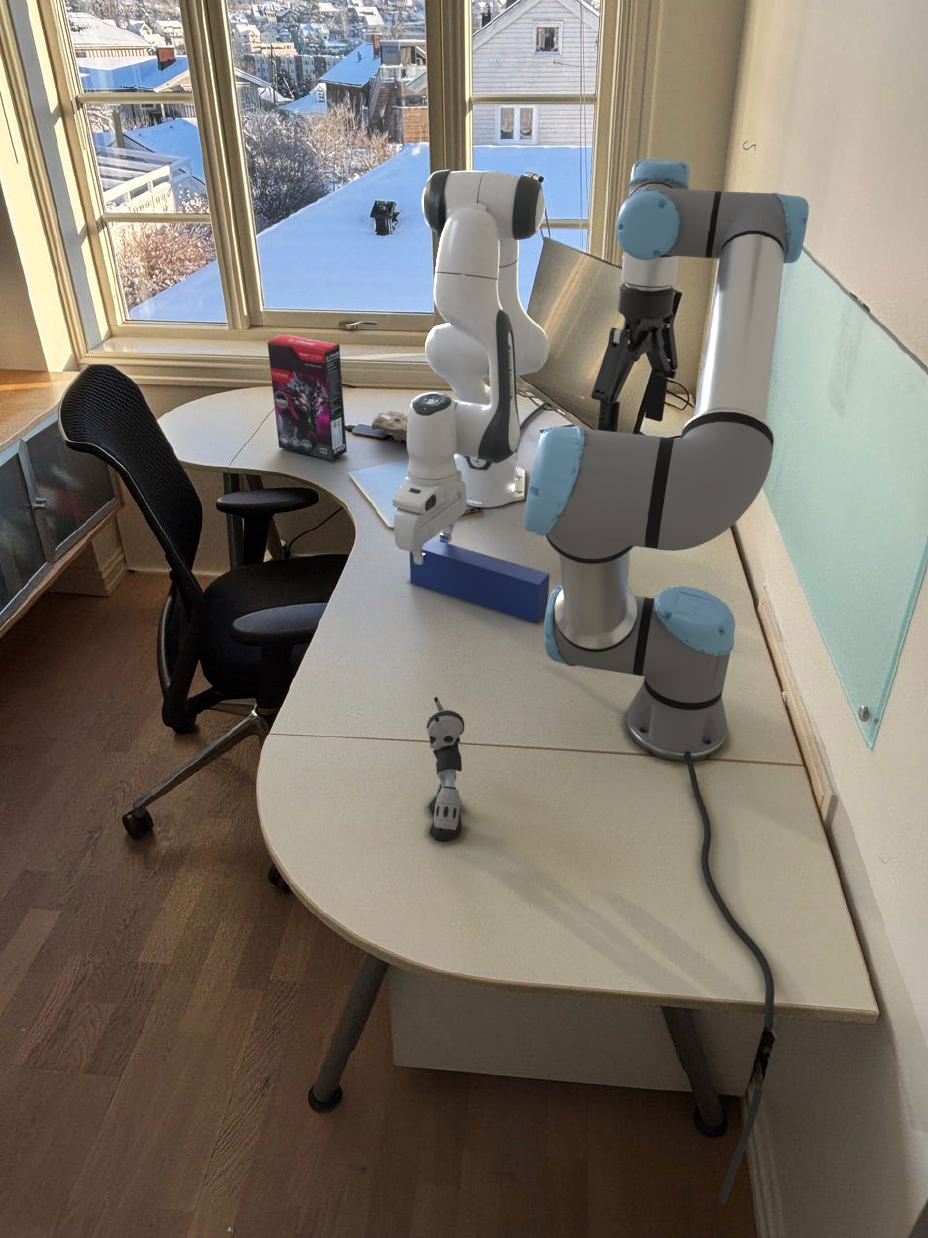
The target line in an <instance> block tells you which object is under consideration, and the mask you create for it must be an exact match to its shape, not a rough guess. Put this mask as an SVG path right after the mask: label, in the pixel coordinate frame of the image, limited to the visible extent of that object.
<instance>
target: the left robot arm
mask: <svg viewBox="0 0 928 1238" xmlns="http://www.w3.org/2000/svg"><path fill="white" fill-rule="evenodd" d="M421 206H422V211H423V218H424V222H425V223H426V225H427V226H428V227H429V229H430V230H431V231H433V232H434V233H436V236H437V238H439V239H440V240H439V245H438V246H439V247H438V251H437V256H436V264H435V265H436V266H435V273H434V284H433V297H434V298H433V299H434V304H435V308H436V309H437V311H438V313H439V315H440V316H441V317H442V319H443V320H444V321H445V322H446V323H444V324H439V325H438V324H437V325H435V326H434V327H433V328H432V329H431V330H430V332H429V333H428V335H427V337H426V341H425V346H424V352H425V353H424V354H425V358H426V361H427V363H428V365H429V367H430V368H431V369H432V370H433V371H434V372H435V373H436V374H438V375H439V376H440V377H441V378H442V379H444V380H445V381H446V382H447V383H448V385H449V386H450V387H451V389H452V391H453V393H454V394H455V398H456V399H453V398H451V397H450V396H449V395H448V394H446V393H443V392H438V391H430V392H425V393H421V394H419V395H417V396H415V397H414V398H413V399H412V400H411V402H410V405H409V408H408V414H407V416H408V422H407V442H406V450H407V453H408V457H409V458H408V464H407V476H406V477H405V479H404V480H403V482H402V484H401V486H400V487H399V488H398V490H397V491H396V492H395V494H394V495H393V497H392V506H393V507H394V508H396V509H395V512H394V515H393V532H394V533H393V535H394V542H395V543H394V544H395V545H396V547H397V548H398V549H400V550H402V551H405V552H409V553H410V552H412V554H413V555H414V563H415V564H419V565H421V564H423V563H424V562H425V561H426V554H425V553H422V550H421V549H423V545H424V544H425V543H426V542H427V541H429V540H430V539H434V538H435V536H437V535H438V534H439V541H441V542H444V543H447V544H450V542H452V539H453V532H454V528H455V526H456V520H458V519H459V518H460V517H462V515H464V514H465V513H466V511H467V509H468V506H469V507H475V508H495V507H501V506H504V505H507V504H510V503H514V502H521V501H523V500H525V497H526V496H525V495H526V494H525V493H526V470H525V469H524V468H522V467H519V466H517V465H518V453H517V450H518V448H519V444H520V441H521V431H522V429H523V428H524V426H525V425H526V423H528V421H529V420H531V418H532V417H534V415H536V414H537V413H538V412H539V411H541V410H542V409H543V408H544V407H545V406H547V405H549V403H547V402H546V401H545V402H543V403H541V405H539V406H538V407H537V408H535V409H533V411H532V412H531V413H529V414H528V415H527V416H526V417H525V418H524V420H523V421H522V422H521V423H520V415H519V410H518V400H517V399H518V397H517V377H518V376H523V375H528V374H533V373H537V372H540V371H541V369H542V368H543V367H544V366H545V364H546V362H547V360H548V356H549V352H550V344H549V338H548V336H547V334H546V332H545V330H544V329H543V328H542V327H541V325H539V324H537V323H536V322H535V321H534V320H533V319H532V318H531V317H530V316H529V315H528V313H527V312H526V311H525V309H524V307H523V305H522V303H521V299H520V294H519V293H520V292H519V257H520V256H519V254H520V253H519V252H520V243H519V242H520V240H527V239H530V238H532V237H533V236H534V235H536V234H537V233H538V231H539V229H540V226H541V224H542V223H543V219H544V216H545V212H546V202H545V195H544V190H543V187H542V185H541V184H540V182H539V181H538V179H535V178H533V177H531V176H527V175H523V174H520V176H519V175H515V174H510V173H506V172H500V171H494V170H484V171H482V170H481V171H479V170H458V171H453V170H452V169H444V170H438V171H434V172H433V173H432V174H431V175H430V176H429V177H428V179H427V180H426V183H425V187H424V189H423V192H422V197H421ZM486 377H489V385H488V384H486V383H485V381H484V380H483V379H484V378H486ZM467 499H468V500H472V501H473V500H474V501H478V502H481V503H482V504H475V503H470V502H467Z"/></svg>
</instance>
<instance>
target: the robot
mask: <svg viewBox="0 0 928 1238" xmlns="http://www.w3.org/2000/svg"><path fill="white" fill-rule="evenodd" d="M433 701H434V703H435V706H436V708H437V712H434V713H433V714H432V715H430V717H429V718H428V720H427V722H426V724H425V727H426V734H427V735H428V738H429V747H430V749H432V753H433V755H434V757H435V759H436V762H435V769H436V775H437V777H438V778H439V783H440V784H439V785H438V789H437V792H436V795H434V797H433V798H432V799H431V801H430V802H429V804H428V809H429V811H430V814H431V815H432V816H433V821H432V824H431V826H430V829H429V832H428V834H429V835H430V836H431V837H432V838H433V839H434V840H435V841H439V842H449V841H452V840H454V839H457V838H459V837H460V835H461V832H462V831H463V827H462V826H463V825H462V817H461V815H460V812H461V810H462V808H461V797H460V793H459V792H460V791H459V790H458V789H457V787H456V781H457V772H462V770H463V766H462V765H463V761H462V755H461V752H460V747H459V743H460V742H461V737H460V736H461V735H463V733H464V732H465V720H464V717H462V715H461V714H460V713H458V712H457V711H454V710H451V709H445V708H444V707H443V705H442V703H441V702H440V699H439V698H438V697H437V696H435V697H434V698H433Z"/></svg>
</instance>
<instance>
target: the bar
mask: <svg viewBox="0 0 928 1238" xmlns="http://www.w3.org/2000/svg"><path fill="white" fill-rule="evenodd" d="M421 550H422V553H425V554H426V561H425V562H424V563H423V564H421V565H419V564H415V563H414V555H413V554H412V552H409V575H410V576H409V577H410V583H411V584H414V585H416V586H419V587H423V588H425V589H428V590H432V591H435V592H438V593H442V594H443V595H448V596H451V597H454V598H457V599H460V600H463V601H466V602H469V603H472V604H475V605H478V606H480V607H484V608H487V609H491V610H494V611H497V612H500V613H504V614H507V615H510V616H512V617H516V618H518V619H522V620H525V621H527V622H531V623H535V624H537V623H538V622H539V621H540V620H541V619H542V618H543V617H545V614H546V608H547V604H548V600H549V592H550V591H549V590H550V578H551V576H550V575H551V574H550V573H549V572H545V571H542V570H539V569H535V568H532V567H529V566H525V565H522V564H518V563H515V562H511V561H509V560H505V559H502V558H499V557H494V556H491V555H488V554H484V553H481V552H479V551H474V550H472V549H468V548H464V547H461V546H457V545H455V544H451V543H448V544H447V543H444V542H441V541H440V540H437V539H434V538H431V539H430V540H429V541H427V542H426V543H425V544H424V545H423V549H421Z"/></svg>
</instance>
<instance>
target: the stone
mask: <svg viewBox="0 0 928 1238" xmlns="http://www.w3.org/2000/svg"><path fill="white" fill-rule="evenodd" d="M407 422H408V415H405V414H404V413H403V412H399V411H398V412H397V411H393V410H391V411H390V410H389V411H387V412H379V414H377V415H376V417H374V419H373V421H372V423H371V429H372V431H375V430H382V431H383V432H384V433H385V434H386V435H389V436H392V437H393V439H394V440H395V441H398V442H402V441H404V442H406V443H407Z"/></svg>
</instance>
